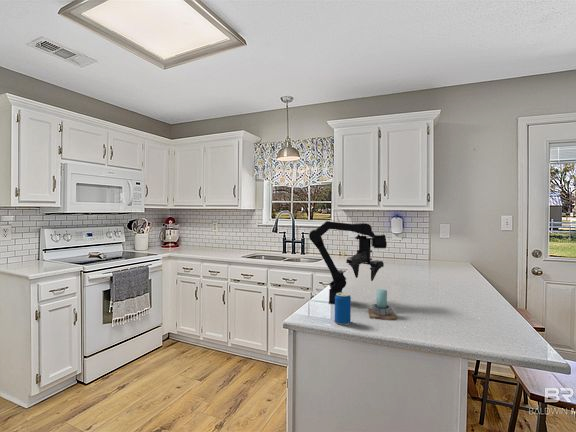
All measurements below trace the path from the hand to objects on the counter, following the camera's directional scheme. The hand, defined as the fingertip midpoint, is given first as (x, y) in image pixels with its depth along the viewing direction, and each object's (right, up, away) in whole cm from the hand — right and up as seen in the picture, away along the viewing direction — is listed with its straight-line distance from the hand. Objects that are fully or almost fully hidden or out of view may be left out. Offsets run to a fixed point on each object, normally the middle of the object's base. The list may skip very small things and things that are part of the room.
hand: (364, 279), depth 163 cm
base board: (+4, -13, -18) cm, 22 cm away
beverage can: (-16, -13, -28) cm, 35 cm away
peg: (+4, -12, -18) cm, 22 cm away
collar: (+4, -13, -18) cm, 22 cm away
